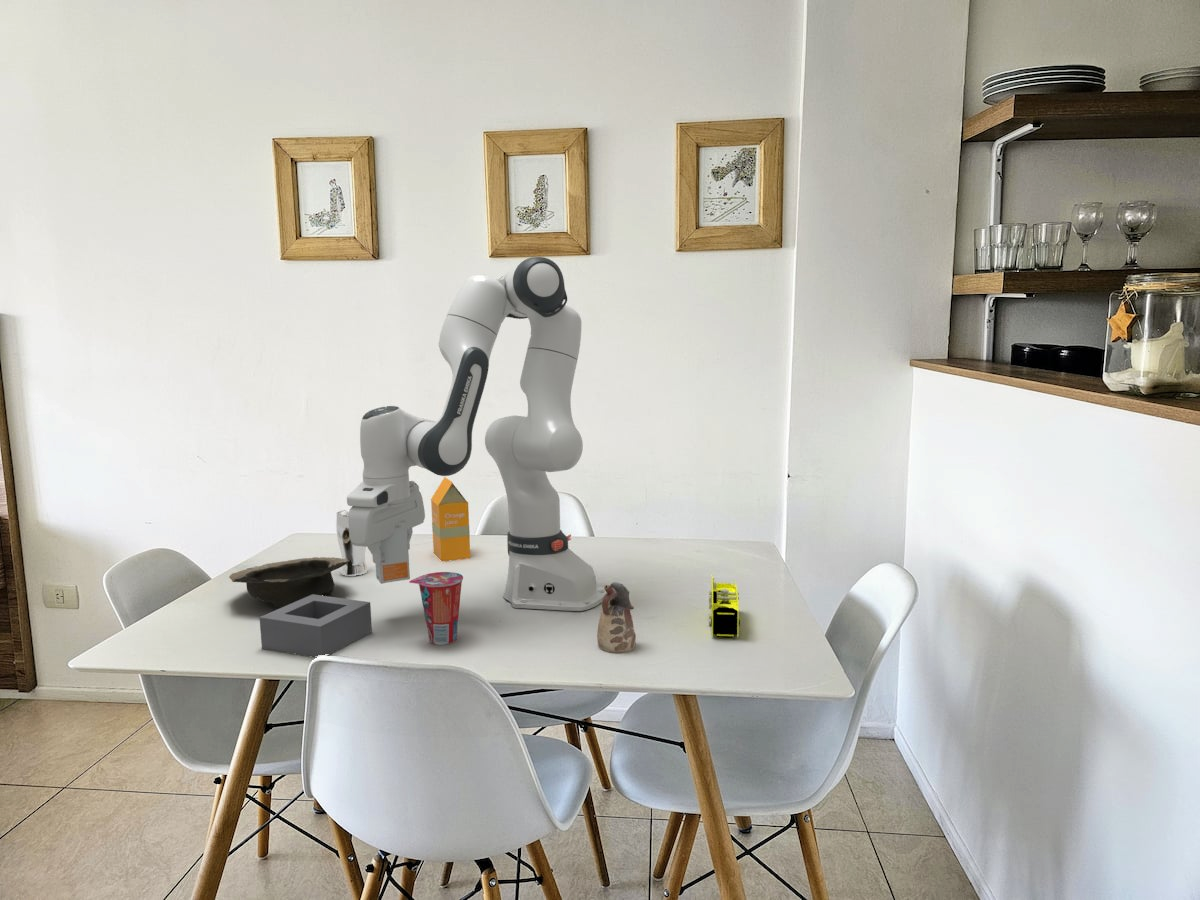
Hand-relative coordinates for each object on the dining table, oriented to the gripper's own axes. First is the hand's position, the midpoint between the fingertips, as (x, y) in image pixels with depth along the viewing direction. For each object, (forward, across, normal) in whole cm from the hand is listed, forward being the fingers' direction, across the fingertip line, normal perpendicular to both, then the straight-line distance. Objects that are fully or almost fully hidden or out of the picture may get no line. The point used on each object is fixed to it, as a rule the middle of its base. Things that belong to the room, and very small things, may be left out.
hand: (391, 556), depth 167 cm
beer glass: (+13, -22, -28) cm, 39 cm away
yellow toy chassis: (+14, -19, +63) cm, 67 cm away
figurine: (+14, -1, +48) cm, 49 cm away
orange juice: (+14, -43, -14) cm, 48 cm away
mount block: (+12, +16, -6) cm, 21 cm away
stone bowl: (+13, -2, -29) cm, 32 cm away
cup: (+13, +8, +16) cm, 22 cm away
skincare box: (+5, 0, 0) cm, 5 cm away
